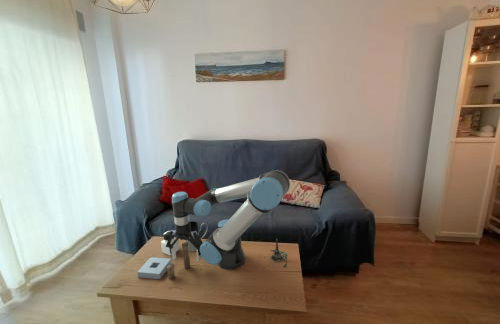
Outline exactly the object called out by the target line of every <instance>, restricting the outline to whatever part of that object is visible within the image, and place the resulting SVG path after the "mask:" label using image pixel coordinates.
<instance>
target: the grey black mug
mask: <svg viewBox="0 0 500 324" xmlns="http://www.w3.org/2000/svg"><path fill="white" fill-rule="evenodd" d="M204 224H205V225H206V231H205V232H204V234H203V235H202V236H201V237H200V239H201V240H202V239H203V238H204V237H205V236H206V235H207V233H208V229H209V226H208V224H207V223H206V222H202V223H201V225H200V229H199V224H198V222H197V221H193V220H192V221H191V220H190V225H191V231H192V232H194V231H195V230H196V231H197V233H198V235H199V236H200V233H199V232H200V231H202V226H203V225H204ZM191 235H192V234H191ZM192 236H193V235H192ZM189 238H190V237H189ZM193 238H194V236H193ZM194 239H195V238H194ZM185 242H187V243H188V249H189V252H195V251H196V250H197V249H196V248H195V247H194V246H193V244H192V243H191V242H190V241H188V240H185Z"/></svg>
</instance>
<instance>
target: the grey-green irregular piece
mask: <svg viewBox="0 0 500 324" xmlns="http://www.w3.org/2000/svg"><path fill="white" fill-rule="evenodd" d="M275 240H276V241H275V242H276V243H275V249H270V252H273V254H272V255H271V256H270V259H271V260H272V261H274V262H275V263H279V262H280V261H284V262H285V264H284V265H282V266H283V268H284V269H287V265H288V253H287V252H285V251H282V250H279V244H278V243H279V242H278V238H276V239H275Z"/></svg>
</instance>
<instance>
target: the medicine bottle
mask: <svg viewBox="0 0 500 324" xmlns="http://www.w3.org/2000/svg"><path fill="white" fill-rule="evenodd" d="M171 231H172V230H167V231H166V232H164V233H163V234H162V235H163V240H161V241H160V244H161V246H160V247H161V252H162V253H163V254H166V255H168V256H172V254H171V253H170V248H169V247H166V244H167V242H168V239H169V237H170V232H171ZM175 235H176V234H174V236H173V238H172V241H171V243H170V244H172V243H173V242H174V240H175V239H176V238H177V237H175ZM173 246H175V251H176V252H178V251H180V242H179V240H178V241H177V242H176V243H175V244H174V245H173Z"/></svg>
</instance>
